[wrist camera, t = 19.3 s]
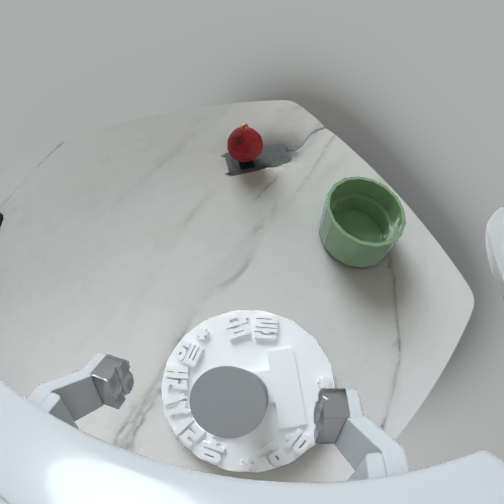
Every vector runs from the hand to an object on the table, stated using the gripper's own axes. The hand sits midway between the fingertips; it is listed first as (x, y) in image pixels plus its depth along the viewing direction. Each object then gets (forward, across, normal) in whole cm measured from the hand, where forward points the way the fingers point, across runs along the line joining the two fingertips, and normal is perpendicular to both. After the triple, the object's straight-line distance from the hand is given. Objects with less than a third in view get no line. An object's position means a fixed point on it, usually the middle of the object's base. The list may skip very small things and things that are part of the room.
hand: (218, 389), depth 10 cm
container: (+13, 0, +15) cm, 20 cm away
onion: (+41, +5, -9) cm, 43 cm away
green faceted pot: (+32, -13, 0) cm, 34 cm away
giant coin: (+15, 0, +17) cm, 23 cm away
